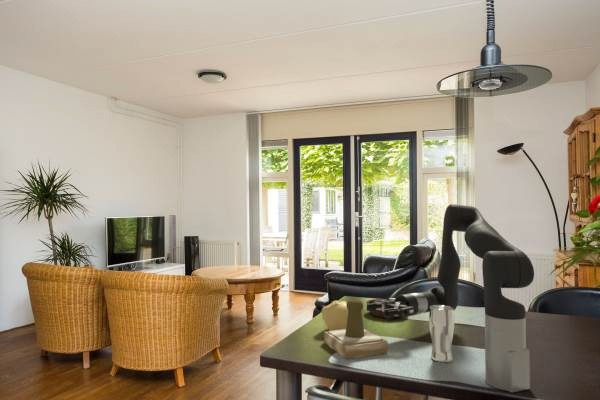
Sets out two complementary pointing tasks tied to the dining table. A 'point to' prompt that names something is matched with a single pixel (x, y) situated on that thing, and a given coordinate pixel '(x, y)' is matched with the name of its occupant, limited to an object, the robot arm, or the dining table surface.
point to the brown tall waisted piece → (354, 319)
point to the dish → (379, 312)
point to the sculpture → (335, 315)
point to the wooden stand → (355, 344)
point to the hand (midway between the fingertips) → (375, 310)
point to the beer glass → (441, 332)
